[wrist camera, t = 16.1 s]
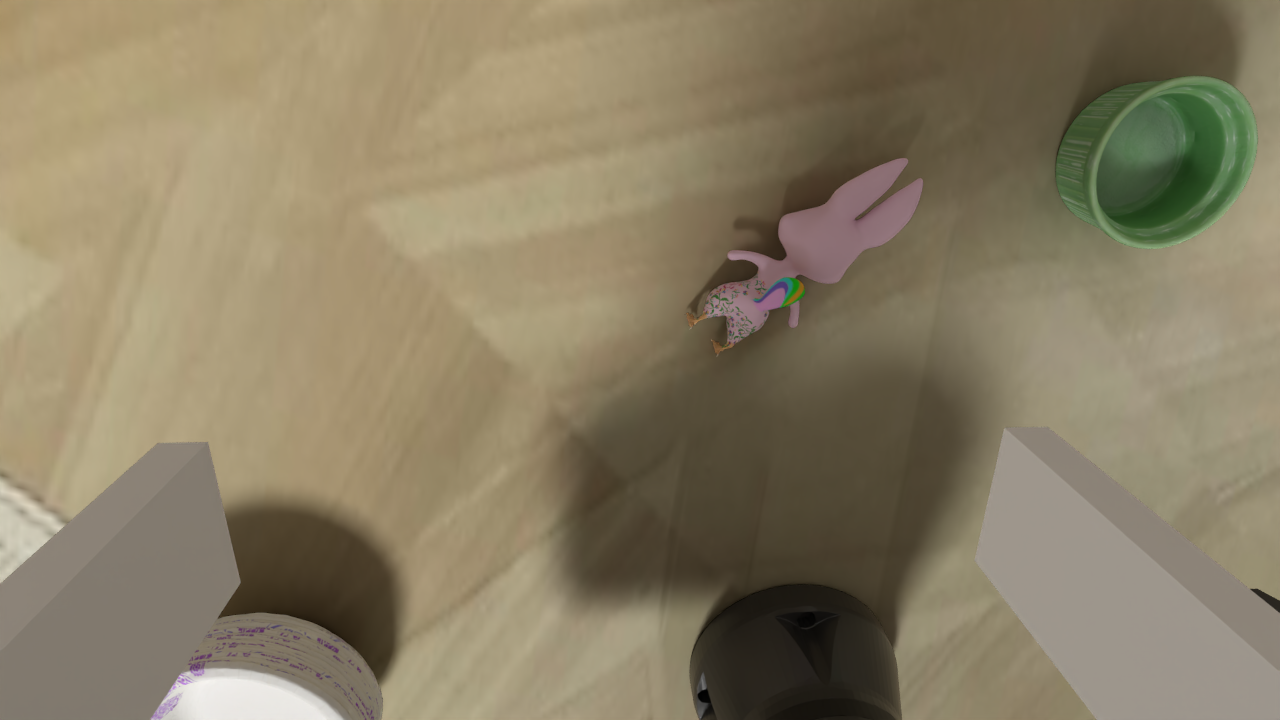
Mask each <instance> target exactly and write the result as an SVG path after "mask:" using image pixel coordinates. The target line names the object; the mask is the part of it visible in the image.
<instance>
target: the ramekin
mask: <svg viewBox="0 0 1280 720" xmlns="http://www.w3.org/2000/svg"><path fill="white" fill-rule="evenodd" d="M1257 144H1258V133H1257V124H1256V120H1255V116H1254V113H1253V111H1252V108H1251V106H1250V104H1249V103H1248V101H1247V100H1246V98H1245V97H1244V95H1243V94H1242V93H1241V92H1240V91H1238V90H1237V89H1236V88H1235V87H1234V86H1232V85H1231V84H1229V83H1227V82H1225V81H1223V80H1220V79H1217V78H1213V77H1208V76H1184V77H1178V78H1172V79H1168V80H1164V81H1154V82H1140V83H1132V84H1128V85H1125V86H1121V87H1118V88H1115V89H1113V90H1111V91H1109V92H1107V93H1105V94H1103V95H1101V96H1100V97H1099V98H1097V99H1096V100H1094V101H1093V102H1092V103H1090V104H1089V105H1088V106H1087V107H1086V108H1085V109H1084V110H1082V112H1081V113H1080V114H1079V115H1078V116H1077V117H1076V119H1075V120H1074V121H1073V123H1072V124H1071V126H1070V127H1069V129H1068V131H1067V132H1066V134H1065V136H1064V138H1063V140H1062V143H1061V145H1060V148H1059V152H1058V156H1057V159H1056V182H1057V187H1058V190H1059V194H1060V196H1061V198H1062V200H1063V202H1064V203H1065V204H1066V206H1067V207H1068V209H1069V210H1070V211H1072V212H1073V213H1074V214H1075V215H1076V216H1077V217H1079V218H1080V219H1082V220H1084V221H1085V222H1087V223H1089V224H1092V225H1093V226H1095V227H1097V228H1099V229H1101V230H1103V231H1104V232H1105V233H1106V234H1107V235H1108V236H1110V237H1111V238H1113V239H1114V240H1116V241H1118V242H1120V243H1122V244H1124V245H1127V246H1131V247H1135V248H1143V249H1157V248H1164V247H1168V246H1173V245H1176V244H1179V243H1182V242H1184V241H1186V240H1189V239H1191V238H1193V237H1195V236H1196V235H1198V234H1200V233H1201V232H1203V231H1204V230H1206V229H1207V228H1209V227H1210V226H1211V225H1213V224H1214V223H1215V222H1216V221H1217V220H1219V219H1220V218H1221V217H1222V216H1223V215H1224V214H1225V213H1226V212H1227V210H1228V209H1229V208H1230V207H1231V206H1232V204H1233V203H1234V202H1235V201H1236V199H1237V198H1238V196H1239V195H1240V193H1241V192H1242V190H1243V188H1244V187H1245V185H1246V183H1247V181H1248V179H1249V177H1250V174H1251V171H1252V168H1253V165H1254V161H1255V158H1256V153H1257Z"/></svg>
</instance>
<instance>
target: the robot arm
mask: <svg viewBox="0 0 1280 720" xmlns="http://www.w3.org/2000/svg"><path fill="white" fill-rule="evenodd" d="M975 562H976V563H977V564H978V566H979V567H980V568H981V570H982V571H983V572H984V574H985V575H986V576H987V577H988V579H989V580H990V581H991V583H992V584H993V585H994V587H995V588H996V589H997V590H998V592H999V593H1000V594H1001V596H1002V597H1003V598H1004V600H1005V601H1006V602H1007V603H1008V605H1009V606H1010V607H1011V609H1012V610H1013V611H1014V613H1015V614H1016V615H1017V616H1018V618H1019V619H1020V620H1021V622H1022V623H1023V624H1024V626H1025V627H1026V628H1027V629H1028V631H1029V632H1030V633H1031V635H1032V636H1033V637H1034V639H1035V640H1036V641H1037V642H1038V644H1039V645H1040V646H1041V648H1042V649H1043V650H1044V652H1045V653H1046V654H1047V655H1048V657H1049V658H1050V659H1051V661H1052V662H1053V663H1054V665H1055V666H1056V667H1057V668H1058V670H1059V671H1060V672H1061V674H1062V675H1063V676H1064V678H1065V679H1066V680H1067V681H1068V683H1069V684H1070V685H1071V687H1072V688H1073V689H1074V691H1075V692H1076V693H1077V694H1078V696H1079V697H1080V698H1081V700H1082V701H1083V702H1084V704H1085V705H1086V706H1087V707H1088V709H1089V710H1090V711H1091V713H1092V714H1093V715H1094V717H1095V718H1096V719H1097V720H1280V601H1279V600H1277V599H1275V598H1273V597H1272V596H1270V595H1268V594H1266V593H1264V592H1262V591H1260V590H1259V589H1249V588H1248V587H1247V586H1245V585H1244V584H1243V583H1242V582H1240V581H1239V580H1238V579H1237V578H1235V577H1234V576H1233V575H1232V574H1230V573H1229V572H1228V571H1227V570H1225V569H1224V568H1223V567H1222V566H1220V565H1219V564H1218V563H1217V562H1215V561H1214V560H1213V559H1212V558H1210V557H1209V556H1208V555H1207V554H1205V553H1204V552H1203V551H1202V550H1200V549H1199V548H1198V547H1197V546H1195V545H1194V544H1193V543H1192V542H1190V541H1189V540H1188V539H1187V538H1185V537H1184V536H1183V535H1182V534H1181V533H1179V532H1178V531H1177V530H1176V529H1174V528H1173V527H1172V526H1171V525H1169V524H1168V523H1167V522H1166V521H1164V520H1163V519H1162V518H1161V517H1159V516H1158V515H1157V514H1156V513H1154V512H1153V511H1152V510H1151V509H1149V508H1148V507H1147V506H1146V505H1144V504H1143V503H1142V502H1141V501H1139V500H1138V499H1137V498H1136V497H1134V496H1133V495H1132V494H1131V493H1129V492H1128V491H1127V490H1126V489H1124V488H1123V487H1122V486H1121V485H1119V484H1118V483H1117V482H1116V481H1114V480H1113V479H1112V478H1111V477H1109V476H1108V475H1107V474H1106V473H1104V472H1103V471H1102V470H1101V469H1100V468H1098V467H1097V466H1096V465H1095V464H1093V463H1092V462H1091V461H1090V460H1088V459H1087V458H1086V457H1085V456H1083V455H1082V454H1081V453H1080V452H1078V451H1077V450H1076V449H1075V448H1073V447H1072V446H1071V445H1070V444H1068V443H1067V442H1066V441H1065V440H1063V439H1062V438H1061V437H1060V436H1058V435H1057V434H1056V433H1055V432H1053V431H1052V430H1051V429H1050V428H1048V427H1010V428H1004V432H1003V436H1002V441H1001V445H1000V449H999V454H998V458H997V463H996V467H995V472H994V476H993V481H992V485H991V490H990V494H989V499H988V503H987V507H986V512H985V516H984V521H983V525H982V530H981V534H980V539H979V543H978V548H977V552H976V557H975ZM240 583H241V581H240V577H239V573H238V568H237V564H236V560H235V556H234V551H233V547H232V543H231V539H230V534H229V530H228V526H227V521H226V517H225V513H224V509H223V504H222V500H221V496H220V492H219V487H218V483H217V479H216V474H215V470H214V466H213V462H212V457H211V453H210V449H209V445H208V442H187V443H157V444H156V445H155V446H154V447H153V448H152V449H151V450H150V451H148V452H147V453H146V454H145V455H144V456H143V457H142V458H141V459H139V460H138V461H137V462H136V463H135V464H134V465H133V466H132V467H130V468H129V469H128V470H127V471H126V472H125V473H124V474H123V475H122V476H120V477H119V478H118V479H117V480H116V481H115V482H114V483H113V484H111V485H110V486H109V487H108V488H107V489H106V490H105V491H104V492H103V493H101V494H100V495H99V496H98V497H97V498H96V499H95V500H94V501H92V502H91V503H90V504H89V505H88V506H87V507H86V508H85V509H83V510H82V511H81V512H80V513H79V514H78V515H77V516H76V517H75V518H73V519H72V520H71V521H70V522H69V523H68V524H67V525H66V526H64V527H63V528H62V529H61V530H60V531H59V532H58V533H57V534H55V535H54V536H53V537H52V538H51V539H50V540H49V541H48V542H47V543H45V544H44V545H43V546H42V547H41V548H40V549H39V550H38V551H36V552H35V553H34V554H33V555H32V556H31V557H30V558H29V559H28V560H26V561H25V562H24V563H23V564H22V565H21V566H20V567H19V568H17V569H16V570H15V571H14V572H13V573H12V574H11V575H10V576H8V577H7V578H6V579H5V580H4V581H3V582H2V583H1V584H0V720H150V719H151V718H152V716H153V715H154V713H155V712H156V710H157V709H158V707H159V706H160V704H161V703H162V701H163V700H164V698H165V697H166V695H167V694H168V692H169V691H170V689H171V688H172V686H173V684H174V683H175V681H176V680H177V678H178V677H179V675H180V674H181V672H182V671H183V669H184V668H185V666H186V665H187V663H188V662H189V660H190V659H191V657H192V656H193V654H194V653H195V651H196V650H197V648H198V647H199V645H200V644H201V642H202V641H203V639H204V638H205V636H206V635H207V633H208V632H209V630H210V629H211V627H212V626H213V624H214V623H215V621H216V620H217V618H218V617H219V615H220V614H221V612H222V611H223V609H224V608H225V606H226V605H227V603H228V601H229V600H230V598H231V597H232V595H233V594H234V592H235V591H236V589H237V588H238V586H239V585H240ZM690 683H691V689H692V695H693V701H694V706H695V709H696V712H697V715H698V718H699V720H902V714H901V703H900V692H899V682H898V671H897V662H896V658H895V655H894V651H893V648H892V646H891V644H890V642H889V640H888V638H887V636H886V634H885V632H884V630H883V628H882V626H881V624H880V622H879V621H878V619H877V618H876V616H875V615H874V614H873V613H872V612H871V610H870V609H869V608H868V607H866V606H865V605H864V604H863V603H861V602H860V601H858V600H857V599H855V598H854V597H852V596H850V595H848V594H846V593H843V592H841V591H838V590H835V589H832V588H827V587H822V586H815V585H789V586H782V587H776V588H772V589H768V590H764V591H761V592H758V593H756V594H753V595H751V596H748V597H746V598H744V599H742V600H740V601H738V602H737V603H735V604H733V605H732V606H730V607H729V608H727V609H726V610H725V611H723V612H722V613H721V614H720V615H719V616H717V617H716V618H715V619H714V620H713V621H712V622H711V623H710V625H709V626H708V627H707V628H706V629H705V631H704V632H703V634H702V635H701V637H700V638H699V640H698V642H697V644H696V646H695V648H694V651H693V654H692V658H691V662H690Z"/></svg>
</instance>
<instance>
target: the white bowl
mask: <svg viewBox="0 0 1280 720" xmlns="http://www.w3.org/2000/svg"><path fill="white" fill-rule="evenodd" d="M382 711H383V698H382V693H381V690H380V687H379V685H378V683H377V680H376V677H375V675H374V673H373V671H372V670H371V668H370V667H369V666H368V664H367V663H366V661H365V660H364V659H363V657H362V656H361V655H360V654H359V653H358V652H357V651H356V650H355V649H354V648H353V647H351V646H350V645H349V644H348V643H346V642H345V641H344V640H343V639H341V638H340V637H338V636H336V635H335V634H333V633H331V632H330V631H328V630H327V629H325V628H323V627H321V626H319V625H317V624H314V623H312V622H309V621H306V620H302V619H299V618H295V617H290V616H288V615H280V614H270V613H250V614H242V615H232V616H226V617H222V618H219V619H217V620H216V621H215V623H214V624H213V626H212V627H211V629H210V630H209V632H208V633H207V635H206V636H205V638H204V639H203V641H202V642H201V644H200V645H199V647H198V648H197V650H196V651H195V653H194V654H193V656H192V657H191V659H190V660H189V662H188V663H187V665H186V666H185V668H184V669H183V671H182V672H181V674H180V675H179V677H178V678H177V680H176V681H175V683H174V684H173V686H172V688H171V689H170V691H169V692H168V694H167V695H166V697H165V698H164V700H163V701H162V703H161V704H160V706H159V707H158V709H157V710H156V712H155V713H154V715H153V716H152V718H151V719H150V720H381V718H382Z"/></svg>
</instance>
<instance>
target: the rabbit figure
mask: <svg viewBox="0 0 1280 720" xmlns="http://www.w3.org/2000/svg"><path fill="white" fill-rule="evenodd" d="M907 164H908V159H906V158H899V159H895V160H892V161H890V162H887V163H884V164H882V165H879V166H877V167H875V168H873V169H870V170H868V171H866V172H865V173H863V174H861V175H859V176H857V177H855V178H854V179H852V180H850V181H848V182H846V183H845V184H843V185H842V186H841V187H839V188H838V189H837V190H836V191H835V192H834V194H833V195H832V196H831V198H830V199H829V200H828V201H827V202H826V203H825V204H823V205H821V206H819V207H815V208H810V209H806V210H802V211H798V212H794V213H790V214H786V215H784V216H783V217H782V218H781V220H780V223H779V229H778V235H779V239H780V241H781V243H782V245H783V247H784V249H785V251H786V253H787V256H786V258H785V259H784V260H781V261H778V260H774V259H772V258H770V257H768V256H766V255H762V254H759V253H756V252H751V251H740V250H731V251H729V252H728V254H727V256H728V258H729V259H730V260H741V259H743V260H748V261H751V262H753V263H755V264H756V265H757V266H758V268H759V270H758V272H757V274H756V275H755V276H754V277H753V278H751V279H749V280H746V281H739V282H731V283H726V284H723V285H720V286H718V287H716V288H715V289H714V290H712V291H711V292H710V294H709V295H708V297H707V300H706V304H705V307H704V310H703V313H702V315H701V316H700V317H699V318H696V319H694V316H693V315H692V314H690V315H689V313H686V314H685V315H687V319H688V322H689V326H691V327H690V329H691V328H692V327H693V325H694V324H696V323H697V322H699V321H700V320H704V319H706V318H711V317H719V316H727V321H726V325H727V332H728V338H727V342H726V344H725V345H723V346H720V343H719V342H715V341H714V340H710V341H713V345H714V349H715V353H717V355H716V357H717V356H718V355H719V353H720V352H721V351H723V350H724V349H727V348H732V347H733V346H734V345H735V343H737V342H739V341H740V340H742V339H744V338H745V337H747V336H749V335H750V334H752V333H754V332H756V331H757V330H759V329H760V328H761V327H762V326H763V325H764V323H765V322H766V320H767V318H768V315H769V311H770V310H771V309H776V308H779V307H780V308H782V307H786V306H790V317H789V320H788V324H789V326H790V327H792V328H795V327H796V326H797V325H798V319H799V308H800V307H799V300H800V299H801V298H802V297H803V296H804V294H805V288H804V285H803V284H802V282H801V281H799V280H798V279H795V277H796V276H797V275H803V276H805V277H807V278H809V279H811V280H814V281H816V282H820V283H827V284H832V283H836V282H838V281H839V280H840V279H841V278H842V276H843V275H844V273H845V271H846V270H847V268H848V267H849V266H850V265H851V264H852V263H853V262H854V261H855V259H856V258H857V257H858V256H859V254H860V253H861V252H862V251H864V250H865V249H868V248H874V247H878V246H881V245H883V244H884V243H886V242H888V241H889V240H890V239H892V238H893V237H894V236H895V235H896V234H897V233H898V232H899V231H900V230H901V229H902V228H903V227H904V226H905V225H906V224H907V223H908V222H909V220H910V219H911V217H912V216H913V214H914V212H915V210H916V207H917V205H918V202H919V199H920V196H921V193H922V188H923V180H922V179H921V178H918V179H917V180H915V181H914V182H912V183H911V184H909V185H907V186H906V187H904V188H902V189H901V190H899V191H897V192H896V193H895V194H893V195H892V196H890V197H889V198H887V199H886V200H885V201H883V202H882V203H880V204H879V205H878V206H876V207H875V208H873V209H872V210H871V211H869V212H868V213H867V214H866V215H864V216H863V217H862V218H860V219H858V220H855V218H856V217H857V216H858V215H860V214H861V213H862V212H864V211H865V210H866V209H867V208H869V207H870V206H871V205H872V204H873V203H874V202H875V201H876V200H877V199H878V198H880V197H881V196H882V195H883V194H884V193H885V192H886V191H887V190H888V189H889V188H890V187H891V186H892V184H893V183H894V182H895V180H896V179H897V177H898V176H899V174H900V173H901V172H902V170H903V169H904V168H905V166H906V165H907ZM690 329H689V330H690Z"/></svg>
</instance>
